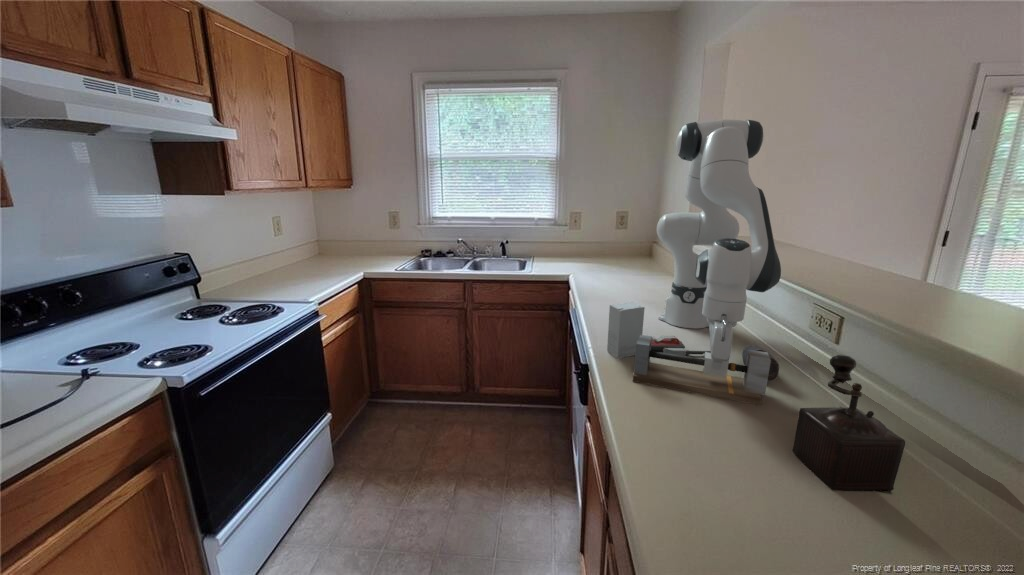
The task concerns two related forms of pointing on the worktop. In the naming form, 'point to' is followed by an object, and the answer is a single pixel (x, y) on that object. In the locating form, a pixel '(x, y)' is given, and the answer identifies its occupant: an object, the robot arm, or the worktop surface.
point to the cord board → (697, 380)
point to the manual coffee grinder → (847, 441)
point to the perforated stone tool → (773, 365)
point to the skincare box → (624, 328)
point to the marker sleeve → (709, 370)
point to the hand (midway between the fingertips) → (715, 363)
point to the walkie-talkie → (671, 346)
